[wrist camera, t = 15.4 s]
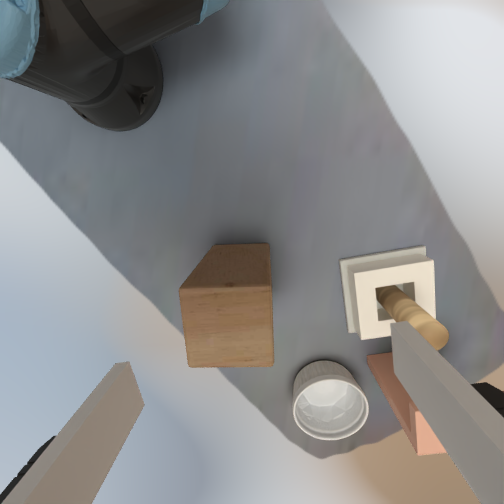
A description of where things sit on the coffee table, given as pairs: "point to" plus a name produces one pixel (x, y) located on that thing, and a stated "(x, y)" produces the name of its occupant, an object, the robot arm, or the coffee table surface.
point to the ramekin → (328, 401)
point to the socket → (379, 275)
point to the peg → (412, 315)
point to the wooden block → (229, 308)
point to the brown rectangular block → (404, 406)
